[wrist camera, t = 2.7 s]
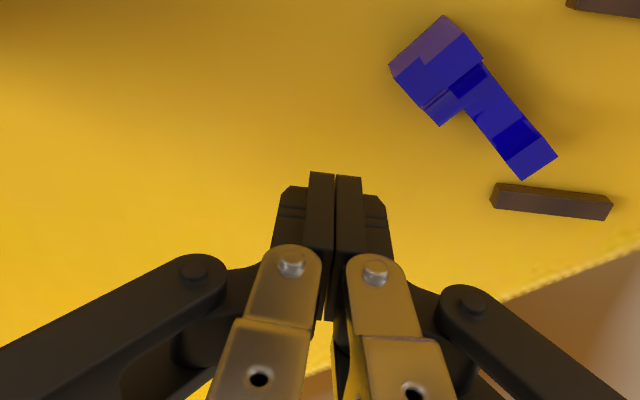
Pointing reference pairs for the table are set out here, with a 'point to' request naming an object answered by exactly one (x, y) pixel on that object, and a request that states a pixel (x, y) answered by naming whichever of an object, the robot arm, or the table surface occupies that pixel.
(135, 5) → the table surface
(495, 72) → the table surface
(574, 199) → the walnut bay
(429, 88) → the cable holder
